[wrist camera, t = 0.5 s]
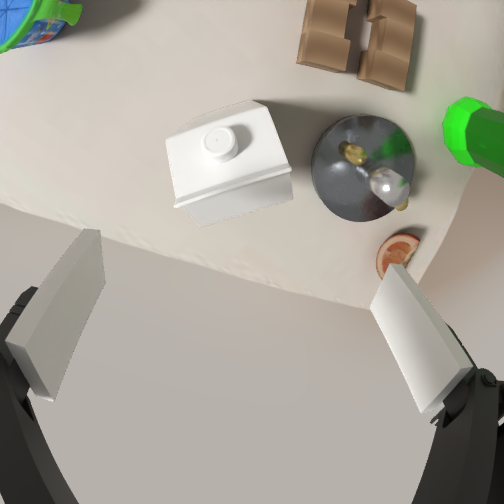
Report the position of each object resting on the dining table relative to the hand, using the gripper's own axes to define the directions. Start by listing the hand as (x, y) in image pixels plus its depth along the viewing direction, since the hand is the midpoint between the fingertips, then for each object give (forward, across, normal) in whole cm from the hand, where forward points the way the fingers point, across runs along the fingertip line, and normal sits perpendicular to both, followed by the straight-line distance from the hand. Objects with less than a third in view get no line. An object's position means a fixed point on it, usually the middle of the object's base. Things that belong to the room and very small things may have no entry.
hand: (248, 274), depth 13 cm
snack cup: (+25, -27, +17) cm, 41 cm away
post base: (+25, +16, +1) cm, 30 cm away
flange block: (+25, +11, +18) cm, 32 cm away
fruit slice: (+25, +25, -10) cm, 37 cm away
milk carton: (+25, -1, +2) cm, 25 cm away
